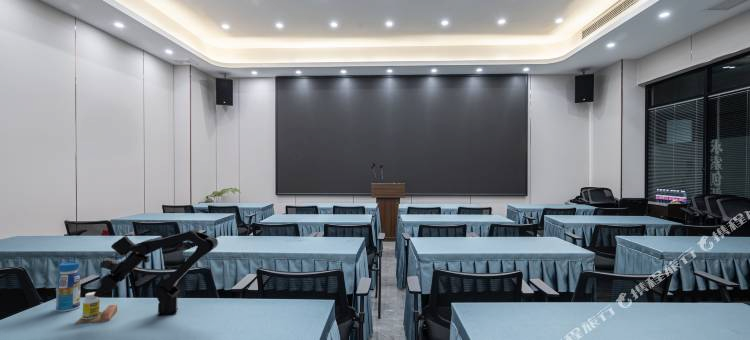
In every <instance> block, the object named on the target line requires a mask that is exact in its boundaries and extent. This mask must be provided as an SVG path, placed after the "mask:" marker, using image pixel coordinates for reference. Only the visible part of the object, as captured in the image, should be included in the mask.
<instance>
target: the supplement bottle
mask: <svg viewBox="0 0 750 340" xmlns="http://www.w3.org/2000/svg"><path fill="white" fill-rule="evenodd" d="M95 293H96V291H92V292H87V293H85V299H84V300H83V302H82V316H83V319H93V318H96V317H98V316H99V312H100V302H101V300H100V298H99V296H97V297H95V296H94V294H95Z"/></svg>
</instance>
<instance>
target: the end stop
mask: <svg viewBox="0 0 750 340" xmlns="http://www.w3.org/2000/svg"><path fill="white" fill-rule="evenodd" d="M117 312H118V304H109V305H108V306H107V307H106V308H105V309H103V311H99V316H98V317H96V318H93V319H83V315H82V316H81V317H80V318H79V319H78V320H76V321H75V322H74V325H80V324H88V323H100V322H109V321H111V319H112V318H113V317H114V316H115V315H116V313H117Z"/></svg>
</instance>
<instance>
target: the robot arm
mask: <svg viewBox="0 0 750 340" xmlns="http://www.w3.org/2000/svg"><path fill="white" fill-rule="evenodd" d="M186 241H190V242H191V243H192V245H194V246H196V249H195V250H194V252H193V253H192V254H191V255H190V256H189V257H188V258H187V259H186V260H185V261H183V262H182V264H181V265H180V266H179V267H177V269H176V270H175V271H174V272H173V273H172V274H169V273H168V274H166V275H164V276H163V277H161V279H160V280H159V281H158V282H157V283H155V284H154V285H155V286H154V288H153V293H154V295H155V296H156V299H157V301H158V304H157V305H158V306H157V313H158V316H159V317H161V316H172V315H176V314H177V312H178V309H179V308H178V295H179V294H180V291H181V290H180V289H179V288H178V287H177V285H178V283H179V282H180V280H181V279H182V277H183V276H184V275H186V273H188V271H190V270H191V269H192V267H194V266H195V265H196V263H198V262H199V261H200V260H201V259H202V258H203V257H205V255H208V254H209V252H211V251H213V250H215V248H217V247H218V245H219V243H218V242H219V241H218V239H217V237H215V236H211V235H207V234H206V233H203V232H200V231H197V230H196V229H190V230H188V231H184V232H181V233H177V234H174V235H169V236H166V237H163V238H162V237H161V238H160V237H159V238H150V239H146V240H144V241H141V242H137V243H134V242H133V241H132V240H131V239H130V238H129V237H128V236H127V235H125V236H122V238H120V239H118V240H117V241H115V242H114V243H113V244H112V245H111V247H110V248H112V249H113V250H114V252H116V253H117V254H118V255H119V256H121V257H123V256H125V258H124V259H123V260H121V261H118V260H115V259H113V258H109V257H105V258H103V259H102V261H101V262H100V263H99V268H101V269H105V270H109V273H107V274H104V276H103V277H102V278H101V279H99V283H100V286H99V287H98V289H97V290H96V291H95V292H96V293H95V294H94V296H95V297H99V296H101V295H103V294H105V293H108V292H110V291H113V290H114V289H115V288H116V287H118V286H119V285H120V282H123V281H124V280H125V279H126V278H127V277H128V276H129V275H130V274H131V273H132V272H133V271H134V270H135V269H136V268H137V267H138V266H139V265H141V264H142V263H143V262H144V263H145V264H146V263H147V264H148V263H149V262H150V260H151V259H150V258H151V256H150V255H149V254H152V253H153V252H156V251H158V250H161V248H165V247H169V246H173V245H175V244H179V243H183V242H186Z"/></svg>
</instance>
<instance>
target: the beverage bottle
mask: <svg viewBox="0 0 750 340" xmlns="http://www.w3.org/2000/svg"><path fill="white" fill-rule="evenodd" d="M79 266H80V263H79V262H78V261H67V262H61V263H60V264H58V272H59V274H58V275H57V277H56V280H55V281H56V282H57V283H56V285H55V289H56V290H55V291H56V294H55V295H56V299H55V300H56V303H55V311H56V312H61V313H62V312H63V313H64V312H70V311H73V310H74V311H75V310H76V309H79V308H80V307H81V285H82V282H81V274H80V273H79V268H80V267H79Z"/></svg>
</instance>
